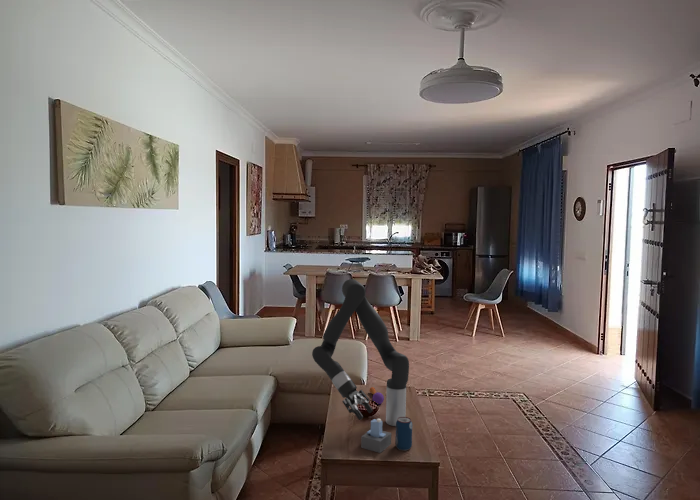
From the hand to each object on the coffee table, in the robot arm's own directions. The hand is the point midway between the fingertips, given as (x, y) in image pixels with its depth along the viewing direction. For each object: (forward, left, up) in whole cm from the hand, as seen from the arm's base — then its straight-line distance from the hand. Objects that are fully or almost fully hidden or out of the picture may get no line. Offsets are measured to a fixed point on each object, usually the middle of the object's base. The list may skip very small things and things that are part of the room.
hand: (366, 415), depth 208 cm
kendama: (-50, -22, -12) cm, 56 cm away
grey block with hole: (0, +5, -12) cm, 13 cm away
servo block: (0, +5, -12) cm, 13 cm away
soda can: (-5, +15, -12) cm, 20 cm away
